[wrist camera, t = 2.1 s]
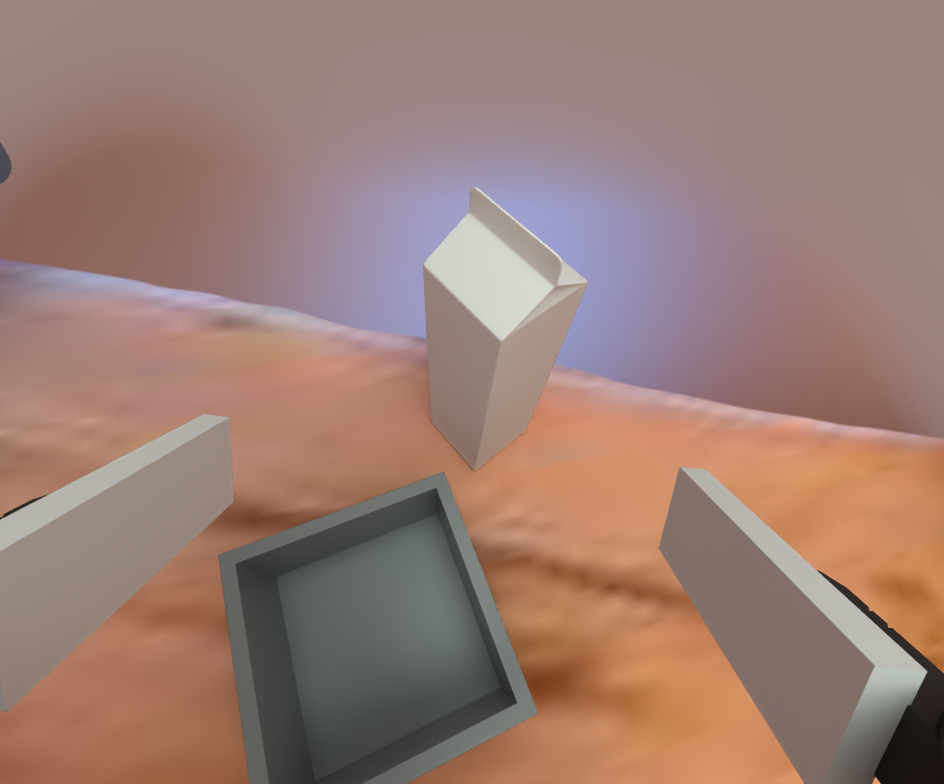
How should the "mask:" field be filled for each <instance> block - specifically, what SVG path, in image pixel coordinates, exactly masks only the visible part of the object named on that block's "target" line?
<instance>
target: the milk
mask: <svg viewBox="0 0 944 784" xmlns="http://www.w3.org/2000/svg"><path fill="white" fill-rule="evenodd" d="M423 271H424V291H425V312H426V332H427V352H428V372H429V392H430V412H431V422H432V423H433V424H434V425H435V427H436V428H437V429H438V430H439V431H440V432H441V434H442V435H443V436H444V437H445V438H446V439H447V441H448V442H449V443H450V444H451V445H452V446H453V448H454V449H455V450H456V451H457V452H458V453H459V455H460V456H461V457H462V458H463V459H464V460H465V462H466V463H467V464H468V465H469V466H470V467H471V469H472V470H473V471H476V470H478V469H479V468H480V467H481V466H483V465H484V464H485V463H486V462H488V461H489V460H490V459H491V458H493V457H494V456H495V455H496V454H498V453H499V452H500V451H501V450H503V449H504V448H505V447H506V446H508V445H509V444H510V443H511V442H513V441H514V440H515V439H516V438H518V437H519V436H520V435H521V434H523V433H524V432H525V431H526V429H527V427H528V424H529V422H530V419H531V417H532V415H533V412H534V410H535V408H536V405H537V403H538V400H539V398H540V396H541V393H542V391H543V389H544V386H545V384H546V382H547V379H548V377H549V374H550V372H551V370H552V367H553V365H554V363H555V360H556V358H557V355H558V353H559V351H560V348H561V346H562V344H563V341H564V339H565V336H566V334H567V332H568V329H569V327H570V324H571V322H572V320H573V318H574V315H575V313H576V310H577V308H578V306H579V303H580V301H581V299H582V296H583V294H584V291H585V289H586V287H587V284H588V281H587V280H586V279H584V278H583V277H582V276H581V275H580V274H578V273H577V272H576V271H575V270H574V269H572V268H571V267H570V266H569V265H567V264H566V263H565V262H564V261H562V259H561V258H560V256H559V255H558V254H557V253H555V252H554V251H553V250H551V248H549V247H548V246H547V245H546V244H545V243H543V242H542V241H541V240H540V239H539V238H537V237H536V236H535V235H534V234H532V233H531V232H530V231H529V230H528V229H526V228H525V227H524V226H523V225H522V224H520V223H519V222H518V221H517V220H516V219H514V218H513V217H512V216H511V215H510V214H508V213H507V212H506V211H505V210H504V209H502V208H501V207H500V206H499V205H497V204H496V203H495V202H494V201H493V200H492V199H490V198H489V197H488V196H487V195H486V194H484V193H483V192H482V191H481V190H480V189H478V188H477V187H474V188H472V190H471V193H470V206H469V213H468V214H467V215H466V216H465V217H464V218H463V219H462V221H461V222H460V223H459V224H458V225H457V226H456V227H455V228H454V230H453V231H452V232H451V233H450V234H449V235H448V236H447V237H446V238H445V240H444V241H443V242H442V243H441V244H440V245H439V246H438V247H437V248H436V250H435V251H434V252H433V253H432V254H431V255H430V256H429V257H428V259H427V260H426V261H425V262H424V264H423Z"/></svg>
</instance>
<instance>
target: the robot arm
mask: <svg viewBox="0 0 944 784" xmlns="http://www.w3.org/2000/svg"><path fill="white" fill-rule="evenodd" d="M10 172H11V161H10V158H9V156H8V154H7V152H6V151H5V149H4V148H3V146H2V144H1V143H0V184H1V183H3V182H4V181H5V180H6V179H7V178H8V176H9V175H10ZM233 502H234V498H233V477H232V455H231V434H230V417H223V416H214V415H205V414H203V415H201V416H199V417H197V418H195V419H193V420H192V421H190V422H188V423H186V424H184V425H182V426H180V427H178V428H176V429H174V430H172V431H170V432H168V433H166V434H165V435H163V436H161V437H159V438H157V439H155V440H153V441H151V442H149V443H147V444H145V445H143V446H141V447H139V448H138V449H136V450H134V451H132V452H130V453H128V454H126V455H124V456H122V457H120V458H118V459H116V460H114V461H113V462H111V463H109V464H107V465H105V466H103V467H101V468H99V469H97V470H95V471H93V472H91V473H89V474H87V475H86V476H84V477H82V478H80V479H78V480H76V481H74V482H72V483H70V484H68V485H66V486H64V487H62V488H60V489H59V490H57V491H55V492H53V493H51V494H48V495H45V496H42V497H39V498H36V499H33V500H31V501H29V502H27V503H25V504H23V505H21V506H19V507H17V508H15V509H13V510H11V511H9V512H7V513H5V514H4V515H3V517H2V518H1V517H0V711H6V712H8V711H9V710H10V709H11V708H12V707H13V706H14V705H16V704H17V703H18V702H19V701H20V700H21V699H22V698H23V697H24V696H25V695H26V694H27V693H28V692H30V691H31V690H32V689H33V688H34V687H35V686H36V685H37V684H38V683H39V682H40V681H41V680H42V679H44V678H45V677H46V676H47V675H48V674H49V673H50V672H51V671H52V670H53V669H54V668H55V667H56V666H58V665H59V664H60V663H61V662H62V661H63V660H64V659H65V658H66V657H67V656H68V655H69V654H70V653H72V652H73V651H74V650H75V649H76V648H77V647H78V646H79V645H80V644H81V643H82V642H83V641H84V640H86V639H87V638H88V637H89V636H90V635H91V634H92V633H93V632H94V631H95V630H96V629H97V628H98V627H99V626H101V625H102V624H103V623H104V622H105V621H106V620H107V619H108V618H109V617H110V616H111V615H112V614H113V613H115V612H116V611H117V610H118V609H119V608H120V607H121V606H122V605H123V604H124V603H125V602H126V601H127V600H129V599H130V598H131V597H132V596H133V595H134V594H135V593H136V592H137V591H138V590H139V589H140V588H141V587H143V586H144V585H145V584H146V583H147V582H148V581H149V580H150V579H151V578H152V577H153V576H154V575H155V574H157V573H158V572H159V571H160V570H161V569H162V568H163V567H164V566H165V565H166V564H167V563H168V562H169V561H171V560H172V559H173V558H174V557H175V556H176V555H177V554H178V553H179V552H180V551H181V550H182V549H183V548H184V547H186V546H187V545H188V544H189V543H190V542H191V541H192V540H193V539H194V538H195V537H196V536H197V535H198V534H200V533H201V532H202V531H203V530H204V529H205V528H206V527H207V526H208V525H209V524H210V523H211V522H212V521H214V520H215V519H216V518H217V517H218V516H219V515H220V514H221V513H222V512H223V511H224V510H225V509H226V508H228V507H229V506H230V505H231V504H232V503H233ZM659 550H660V551H661V553H662V554H663V556H664V558H665V559H666V561H667V563H668V564H669V566H670V567H671V569H672V571H673V572H674V574H675V575H676V577H677V579H678V580H679V582H680V584H681V585H682V587H683V588H684V590H685V592H686V593H687V595H688V596H689V598H690V600H691V601H692V603H693V604H694V606H695V608H696V609H697V611H698V613H699V614H700V616H701V617H702V619H703V621H704V622H705V624H706V625H707V627H708V629H709V630H710V632H711V634H712V635H713V637H714V638H715V640H716V642H717V643H718V645H719V646H720V648H721V650H722V651H723V653H724V655H725V656H726V658H727V659H728V661H729V663H730V664H731V666H732V667H733V669H734V671H735V672H736V674H737V675H738V677H739V679H740V680H741V682H742V684H743V685H744V687H745V688H746V690H747V692H748V693H749V695H750V696H751V698H752V700H753V701H754V703H755V705H756V706H757V708H758V709H759V711H760V713H761V714H762V716H763V717H764V719H765V721H766V722H767V724H768V726H769V727H770V729H771V730H772V732H773V734H774V735H775V737H776V738H777V740H778V742H779V743H780V745H781V746H782V748H783V750H784V751H785V753H786V755H787V756H788V758H789V759H790V761H791V763H792V764H793V766H794V767H795V769H796V771H797V772H798V774H799V776H800V777H801V779H802V780H803V782H804V784H872V783H873V781H874V778H875V776H876V778H877V779H878V780H879V782H880V783H881V784H944V673H943V672H941V671H940V670H939V669H938V668H937V667H936V666H935V665H933V664H932V663H931V662H930V661H929V660H928V659H927V658H926V657H924V656H923V655H922V654H921V653H920V652H919V651H918V650H917V649H915V648H914V647H913V646H912V645H911V644H910V643H909V642H907V641H906V640H905V639H904V638H903V637H902V636H901V635H900V634H898V633H897V632H896V631H895V630H894V629H893V628H888V626H887V625H888V624H887V623H886V622H885V621H884V620H883V619H881V618H880V617H879V616H878V615H877V614H876V613H875V612H874V611H869V607H868V606H867V605H866V604H864V603H863V602H862V601H861V600H860V599H859V598H858V597H857V596H855V595H854V594H853V593H852V592H851V591H850V590H849V589H847V588H846V587H845V586H843V585H841V584H840V583H838V582H837V581H835V580H833V579H832V578H830V577H829V576H827V575H825V574H824V573H822V572H821V571H818V570H816V569H814V568H813V567H812V566H811V565H810V564H809V563H808V562H807V561H806V560H805V559H804V558H802V557H801V556H800V555H799V554H798V553H797V552H796V551H795V550H794V549H793V548H791V547H790V546H789V545H788V544H787V543H786V542H785V541H784V540H783V539H782V538H780V537H779V536H778V535H777V534H776V533H775V532H774V531H773V530H772V529H771V528H770V527H768V526H767V525H766V524H765V523H764V522H763V521H762V520H761V519H760V518H759V517H757V516H756V515H755V514H754V513H753V512H752V511H751V510H750V509H749V508H748V507H746V506H745V505H744V504H743V503H742V502H741V501H740V500H739V499H738V498H737V497H736V496H734V495H733V494H732V493H731V492H730V491H729V490H728V489H727V488H726V487H725V486H723V485H722V484H721V483H720V482H719V481H718V480H717V479H716V478H715V477H714V476H712V475H711V474H710V473H709V472H708V471H707V470H705V469H696V468H687V467H680V468H679V472H678V476H677V480H676V484H675V487H674V491H673V495H672V499H671V503H670V507H669V511H668V515H667V518H666V522H665V526H664V530H663V534H662V538H661V542H660V546H659Z"/></svg>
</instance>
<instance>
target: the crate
mask: <svg viewBox="0 0 944 784" xmlns="http://www.w3.org/2000/svg"><path fill="white" fill-rule="evenodd" d="M218 557H219V565H220V572H221V579H222V586H223V593H224V601H225V608H226V615H227V622H228V630H229V637H230V644H231V651H232V658H233V666H234V673H235V680H236V687H237V694H238V702H239V709H240V716H241V723H242V731H243V738H244V745H245V752H246V759H247V767H248V774H249V781H250V784H407V783H408V782H410V781H412V780H414V779H416V778H418V777H420V776H422V775H423V774H425V773H427V772H429V771H431V770H433V769H435V768H437V767H438V766H440V765H442V764H444V763H446V762H448V761H450V760H452V759H453V758H455V757H457V756H459V755H461V754H463V753H465V752H467V751H468V750H470V749H472V748H474V747H476V746H478V745H480V744H482V743H483V742H485V741H487V740H489V739H491V738H493V737H495V736H497V735H498V734H500V733H502V732H504V731H506V730H508V729H510V728H511V727H513V726H515V725H517V724H519V723H521V722H523V721H525V720H526V719H528V718H530V717H532V716H534V715H536V714H538V712H537V709H536V707H535V704H534V701H533V699H532V696H531V694H530V691H529V689H528V686H527V684H526V681H525V678H524V676H523V673H522V671H521V668H520V666H519V663H518V660H517V658H516V655H515V653H514V650H513V648H512V645H511V643H510V640H509V637H508V635H507V632H506V630H505V627H504V625H503V622H502V619H501V617H500V614H499V612H498V609H497V607H496V604H495V602H494V599H493V596H492V594H491V591H490V589H489V586H488V584H487V581H486V578H485V576H484V573H483V571H482V568H481V566H480V563H479V560H478V558H477V555H476V553H475V550H474V548H473V545H472V543H471V540H470V537H469V535H468V532H467V530H466V527H465V525H464V522H463V519H462V517H461V514H460V512H459V509H458V507H457V504H456V502H455V499H454V496H453V494H452V491H451V489H450V486H449V484H448V481H447V478H446V476H445V473H444V472H442V473H439V474H436V475H433V476H431V477H428V478H425V479H423V480H420V481H417V482H415V483H412V484H409V485H406V486H404V487H401V488H398V489H396V490H393V491H390V492H388V493H385V494H382V495H379V496H377V497H374V498H371V499H369V500H366V501H363V502H361V503H358V504H355V505H353V506H350V507H347V508H344V509H342V510H339V511H336V512H334V513H331V514H328V515H326V516H323V517H320V518H317V519H315V520H312V521H309V522H307V523H304V524H301V525H299V526H296V527H293V528H290V529H288V530H285V531H282V532H280V533H277V534H274V535H272V536H269V537H266V538H264V539H261V540H258V541H255V542H253V543H250V544H247V545H245V546H242V547H239V548H237V549H234V550H231V551H228V552H226V553H223V554H220V555H218Z"/></svg>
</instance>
